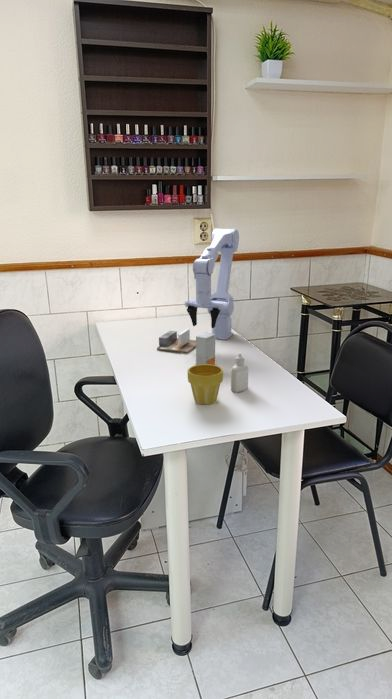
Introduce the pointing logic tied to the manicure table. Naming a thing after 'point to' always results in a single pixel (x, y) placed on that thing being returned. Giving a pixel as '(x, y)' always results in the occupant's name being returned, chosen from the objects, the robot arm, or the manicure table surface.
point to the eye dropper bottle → (239, 375)
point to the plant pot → (205, 382)
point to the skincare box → (205, 349)
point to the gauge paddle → (183, 338)
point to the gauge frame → (174, 343)
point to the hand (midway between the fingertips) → (203, 326)
